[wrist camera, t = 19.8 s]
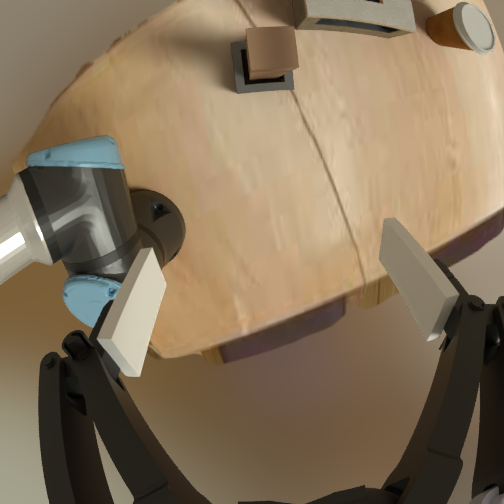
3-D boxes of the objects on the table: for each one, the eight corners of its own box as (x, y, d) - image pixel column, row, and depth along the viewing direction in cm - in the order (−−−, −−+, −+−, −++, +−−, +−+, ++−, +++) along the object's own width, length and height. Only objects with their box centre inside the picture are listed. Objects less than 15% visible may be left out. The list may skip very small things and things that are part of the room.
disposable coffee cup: (452, 62, 30) (495, 66, 20) (415, 37, 29) (457, 32, 19) (458, 27, 25) (498, 25, 15) (421, 1, 23) (460, -10, 13)
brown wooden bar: (249, 80, 35) (251, 70, 19) (246, 57, 33) (245, 28, 17) (275, 78, 35) (298, 67, 19) (273, 55, 33) (293, 26, 16)
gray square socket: (238, 93, 37) (237, 93, 33) (232, 47, 32) (230, 42, 29) (290, 89, 36) (294, 89, 33) (284, 43, 32) (288, 38, 29)
